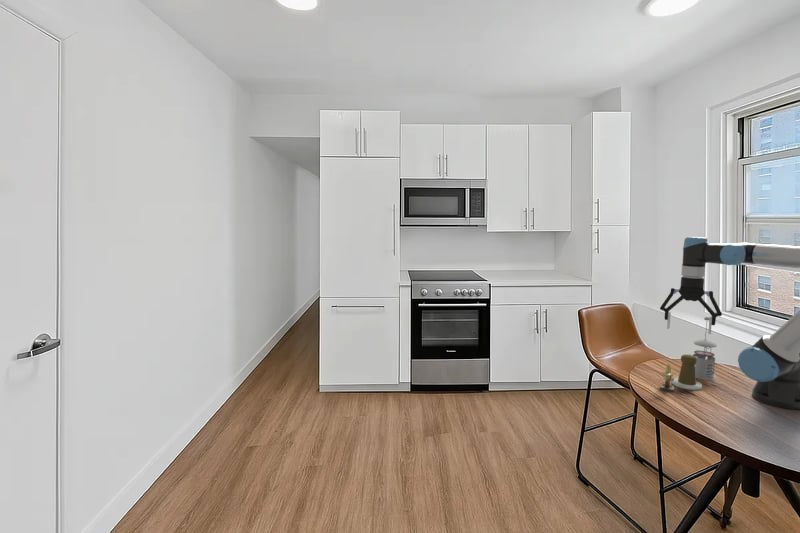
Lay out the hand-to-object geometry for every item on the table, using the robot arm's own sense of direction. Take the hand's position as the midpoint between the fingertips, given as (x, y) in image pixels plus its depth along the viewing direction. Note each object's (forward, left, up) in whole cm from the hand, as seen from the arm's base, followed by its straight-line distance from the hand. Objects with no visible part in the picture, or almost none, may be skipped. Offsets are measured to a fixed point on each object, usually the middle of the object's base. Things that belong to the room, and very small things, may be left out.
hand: (688, 330), depth 176 cm
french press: (-6, -17, -22) cm, 28 cm away
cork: (-1, +1, -21) cm, 21 cm away
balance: (+5, +10, -22) cm, 25 cm away
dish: (-1, +1, -22) cm, 22 cm away
